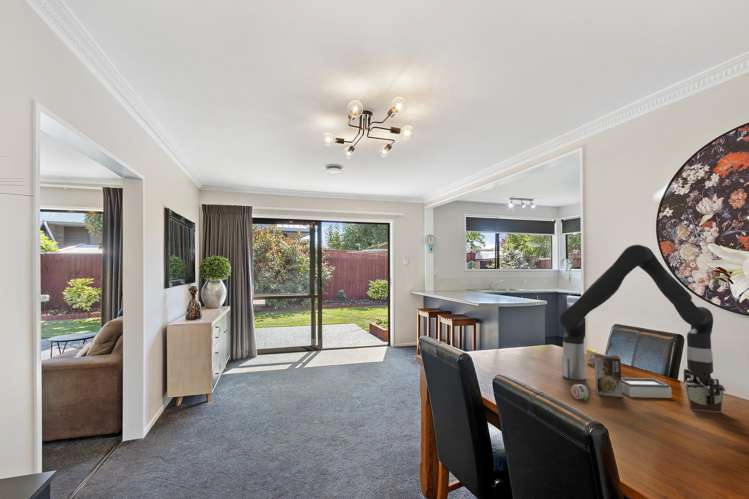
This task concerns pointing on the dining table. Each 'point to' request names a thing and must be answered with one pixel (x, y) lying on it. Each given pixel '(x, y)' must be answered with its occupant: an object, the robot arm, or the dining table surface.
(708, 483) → the dining table surface
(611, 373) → the coffee box
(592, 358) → the candy box
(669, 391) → the base
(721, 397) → the food container
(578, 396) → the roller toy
